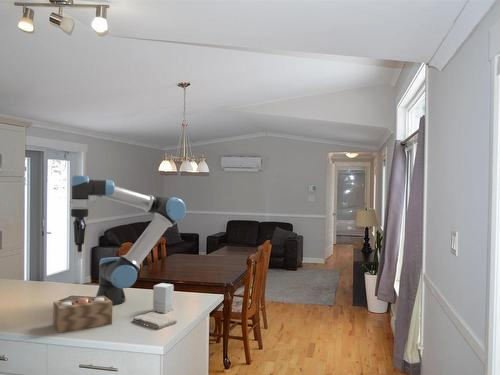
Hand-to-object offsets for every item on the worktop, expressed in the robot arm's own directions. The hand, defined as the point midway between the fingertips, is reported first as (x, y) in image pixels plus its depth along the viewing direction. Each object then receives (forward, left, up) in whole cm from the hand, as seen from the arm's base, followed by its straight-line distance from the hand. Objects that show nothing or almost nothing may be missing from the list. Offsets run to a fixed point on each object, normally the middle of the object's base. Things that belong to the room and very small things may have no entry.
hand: (78, 258), depth 214 cm
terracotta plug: (+2, +16, -24) cm, 29 cm away
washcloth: (-26, +29, -27) cm, 47 cm away
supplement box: (-37, +14, -27) cm, 48 cm away
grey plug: (+9, +16, -25) cm, 31 cm away
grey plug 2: (-5, +16, -25) cm, 30 cm away
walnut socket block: (+2, +16, -26) cm, 31 cm away
